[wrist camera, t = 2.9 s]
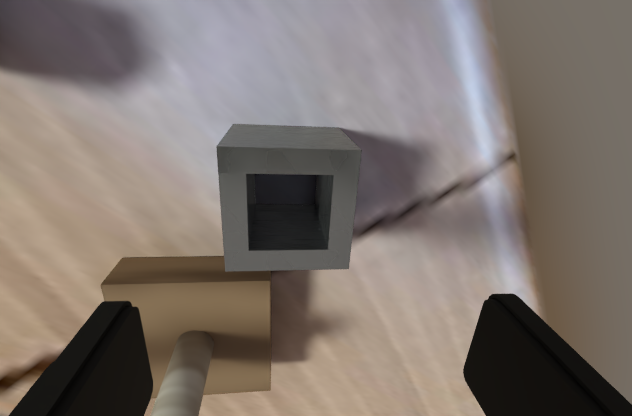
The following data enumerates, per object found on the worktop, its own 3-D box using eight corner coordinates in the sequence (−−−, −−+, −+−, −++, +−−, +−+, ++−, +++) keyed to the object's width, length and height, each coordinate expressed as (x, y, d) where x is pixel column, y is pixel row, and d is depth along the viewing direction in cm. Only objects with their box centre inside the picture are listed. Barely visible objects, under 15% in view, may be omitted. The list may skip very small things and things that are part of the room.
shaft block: (122, 258, 22) (31, 371, 14) (270, 255, 23) (268, 358, 15) (145, 364, 26) (84, 502, 18) (271, 357, 27) (269, 483, 19)
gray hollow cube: (233, 123, 19) (216, 146, 14) (338, 127, 20) (361, 150, 15) (237, 220, 22) (225, 271, 16) (331, 220, 23) (348, 268, 17)
